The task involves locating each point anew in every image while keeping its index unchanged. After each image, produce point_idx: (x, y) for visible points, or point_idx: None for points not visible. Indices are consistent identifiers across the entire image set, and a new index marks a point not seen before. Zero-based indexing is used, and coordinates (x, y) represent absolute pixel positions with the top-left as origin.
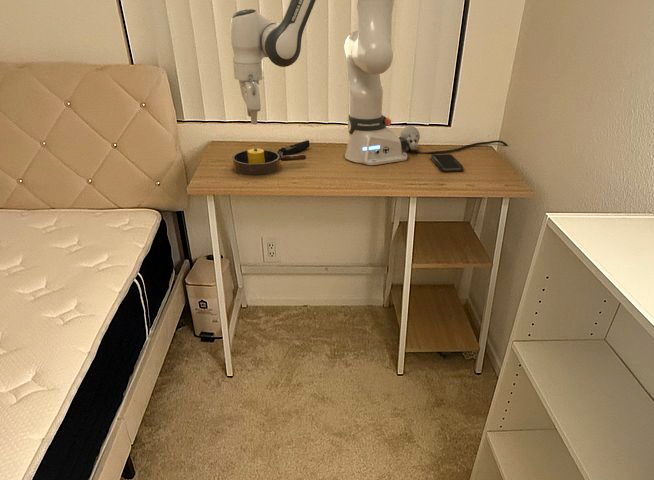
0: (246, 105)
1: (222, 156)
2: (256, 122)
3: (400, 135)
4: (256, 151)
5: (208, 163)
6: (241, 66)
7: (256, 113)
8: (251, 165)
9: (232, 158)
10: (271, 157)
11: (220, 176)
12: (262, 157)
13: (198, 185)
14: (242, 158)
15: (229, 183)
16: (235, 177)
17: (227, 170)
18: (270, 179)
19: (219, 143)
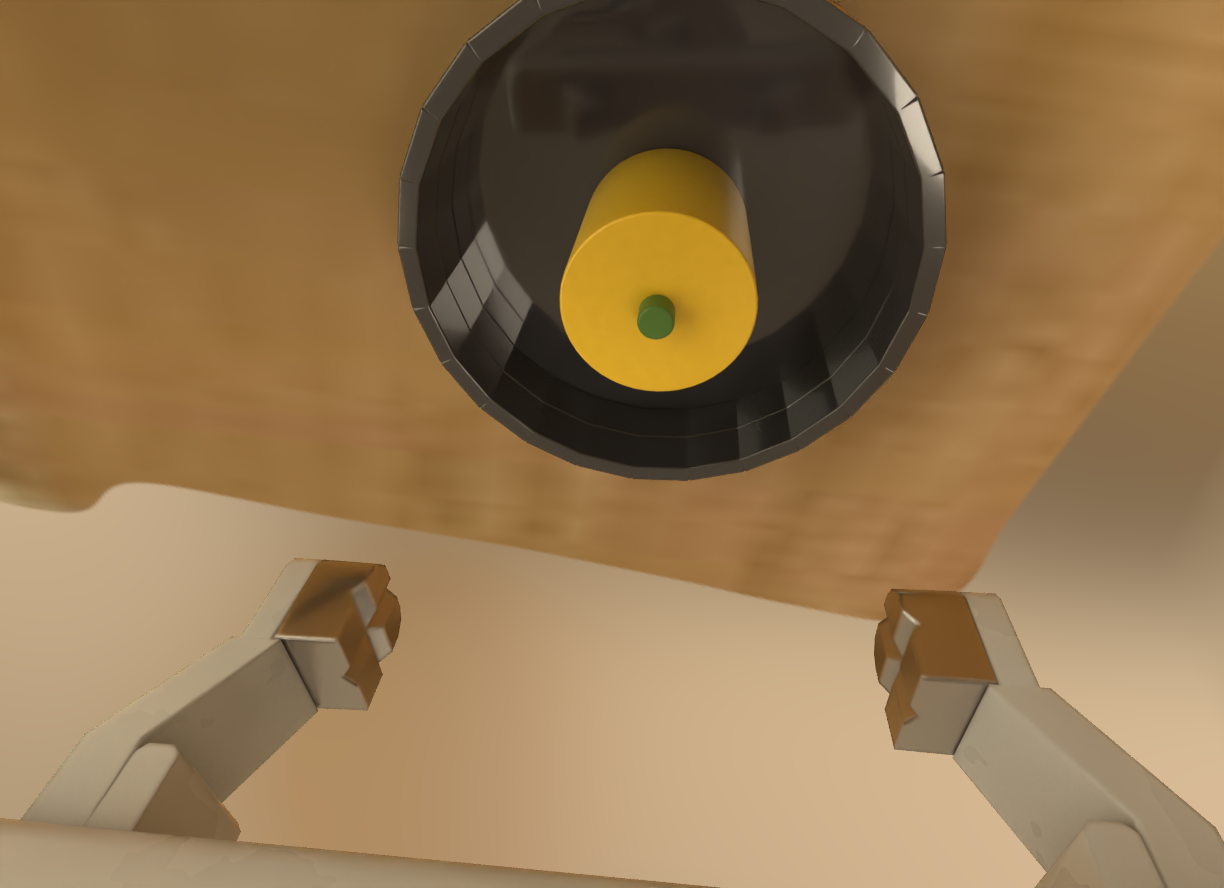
0: (234, 788)
1: (322, 452)
2: (1004, 619)
3: None
4: (683, 304)
5: (482, 540)
6: None
7: (1194, 834)
8: (900, 351)
9: (638, 473)
10: (497, 53)
11: (775, 506)
12: (733, 220)
13: None
14: (499, 359)
15: (955, 473)
16: None
17: None
18: (1043, 133)
19: (9, 439)
